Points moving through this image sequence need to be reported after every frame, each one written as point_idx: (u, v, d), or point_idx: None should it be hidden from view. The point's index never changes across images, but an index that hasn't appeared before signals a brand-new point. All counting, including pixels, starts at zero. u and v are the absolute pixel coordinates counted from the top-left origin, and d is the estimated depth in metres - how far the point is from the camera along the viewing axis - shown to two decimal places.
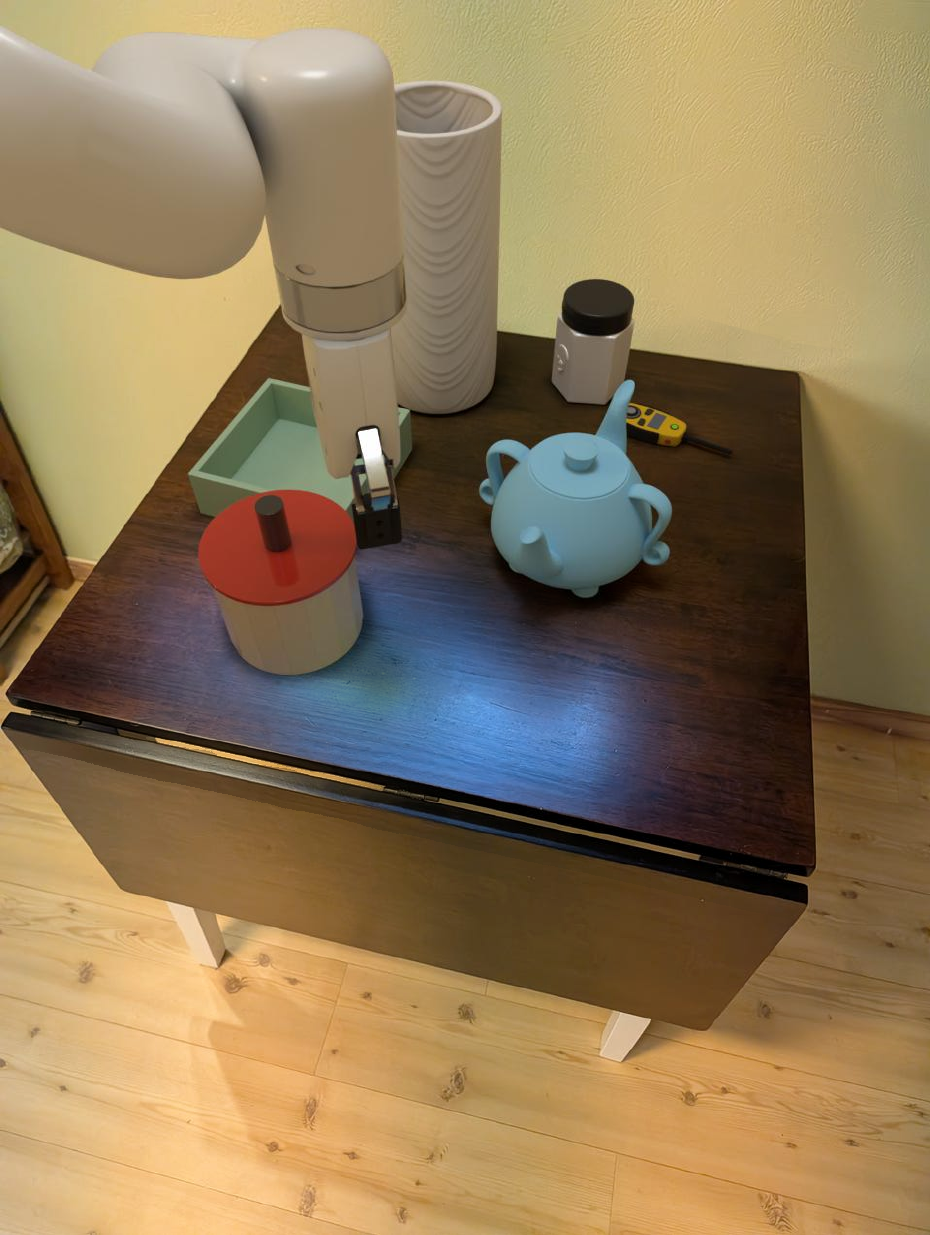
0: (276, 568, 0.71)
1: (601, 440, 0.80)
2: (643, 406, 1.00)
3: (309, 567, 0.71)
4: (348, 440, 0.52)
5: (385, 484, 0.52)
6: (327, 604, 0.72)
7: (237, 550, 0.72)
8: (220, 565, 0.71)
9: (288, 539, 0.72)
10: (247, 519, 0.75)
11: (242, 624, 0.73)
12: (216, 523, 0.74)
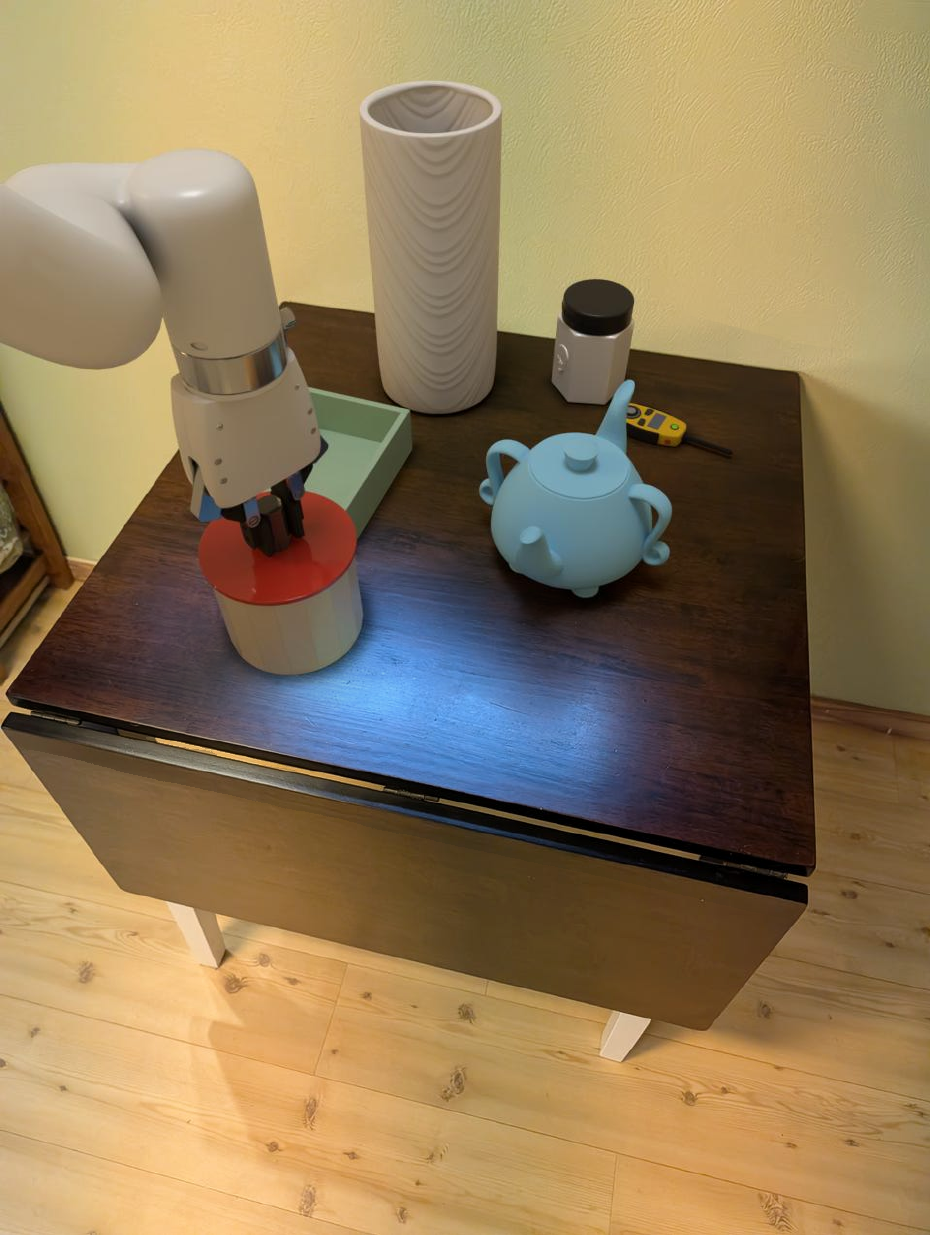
0: (276, 568, 0.71)
1: (601, 440, 0.80)
2: (643, 406, 1.00)
3: (309, 567, 0.71)
4: (185, 460, 0.62)
5: (196, 515, 0.64)
6: (327, 604, 0.72)
7: (237, 550, 0.72)
8: (220, 565, 0.71)
9: (287, 539, 0.72)
10: None
11: (242, 624, 0.73)
12: (216, 523, 0.74)
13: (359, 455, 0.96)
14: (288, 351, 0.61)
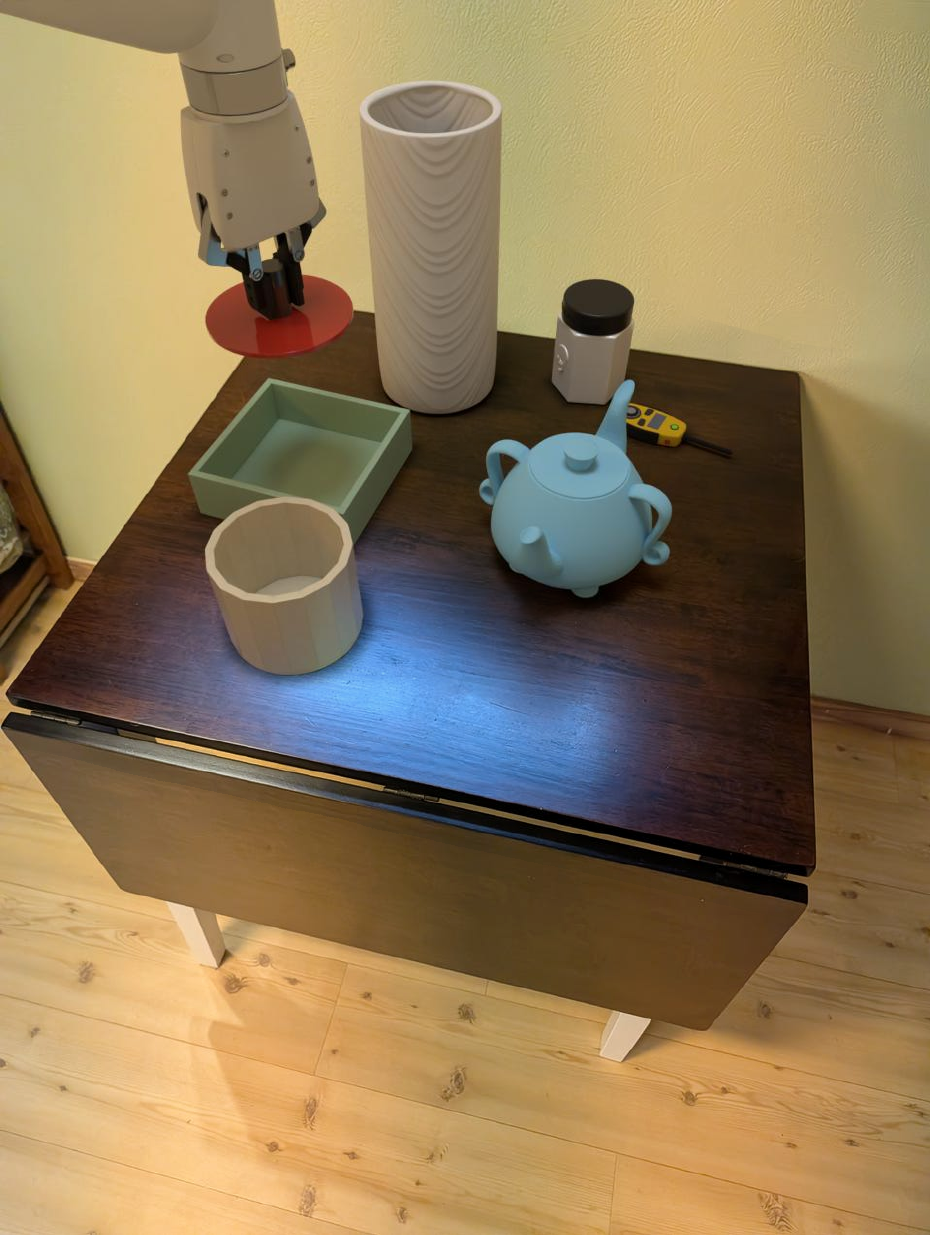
0: (278, 330, 0.76)
1: (601, 440, 0.80)
2: (643, 406, 1.00)
3: (308, 329, 0.76)
4: (194, 199, 0.68)
5: (204, 256, 0.69)
6: (327, 604, 0.72)
7: (241, 317, 0.78)
8: (225, 327, 0.76)
9: (288, 305, 0.77)
10: None
11: (242, 624, 0.73)
12: (222, 298, 0.80)
13: (359, 455, 0.96)
14: (289, 92, 0.66)
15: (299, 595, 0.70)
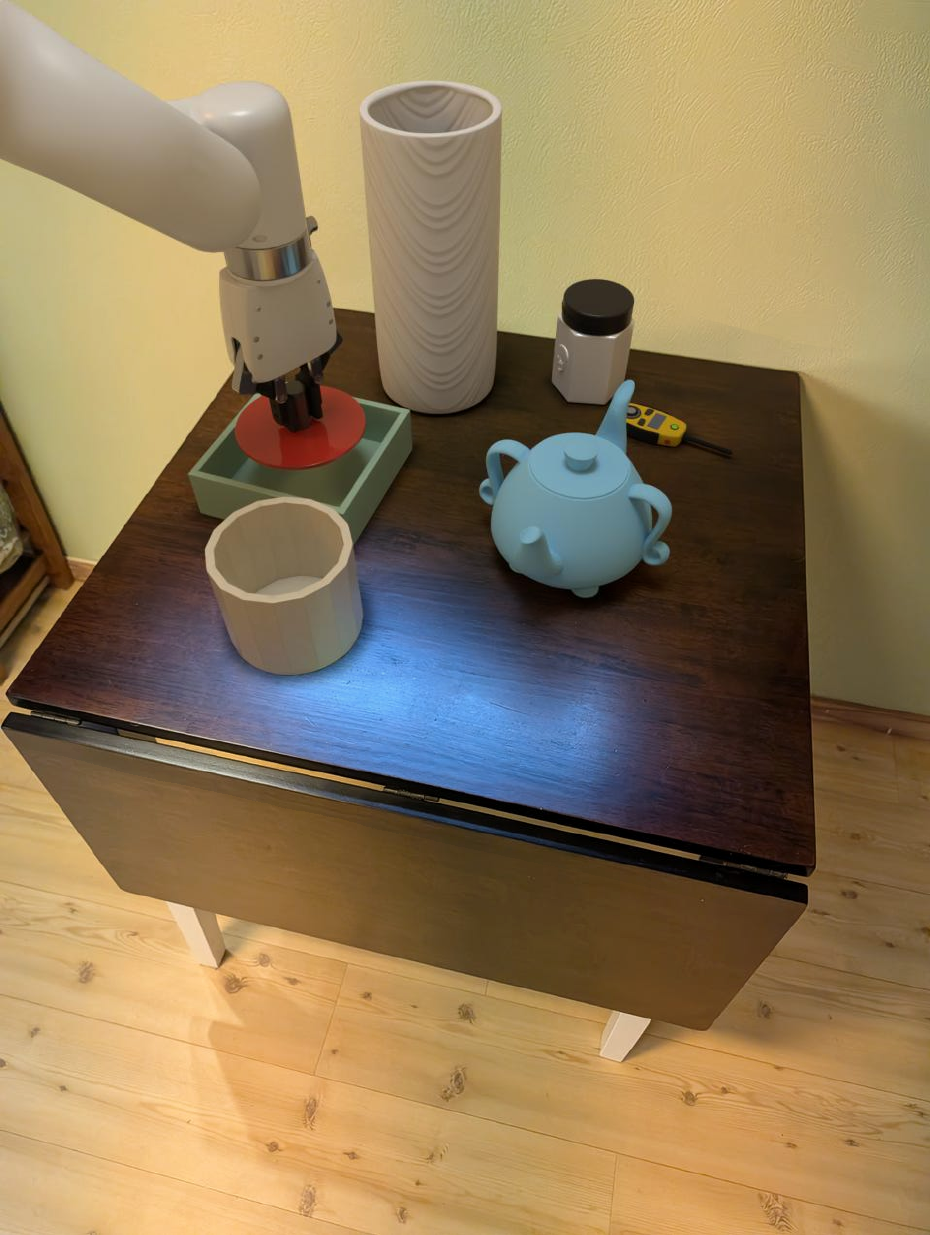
0: (299, 442, 0.86)
1: (601, 440, 0.80)
2: (643, 406, 1.00)
3: (326, 441, 0.86)
4: (229, 341, 0.78)
5: (237, 388, 0.79)
6: (327, 604, 0.72)
7: (267, 429, 0.88)
8: (253, 439, 0.87)
9: (309, 419, 0.87)
10: None
11: (242, 624, 0.73)
12: (249, 409, 0.90)
13: (359, 455, 0.96)
14: (311, 251, 0.76)
15: (299, 595, 0.70)
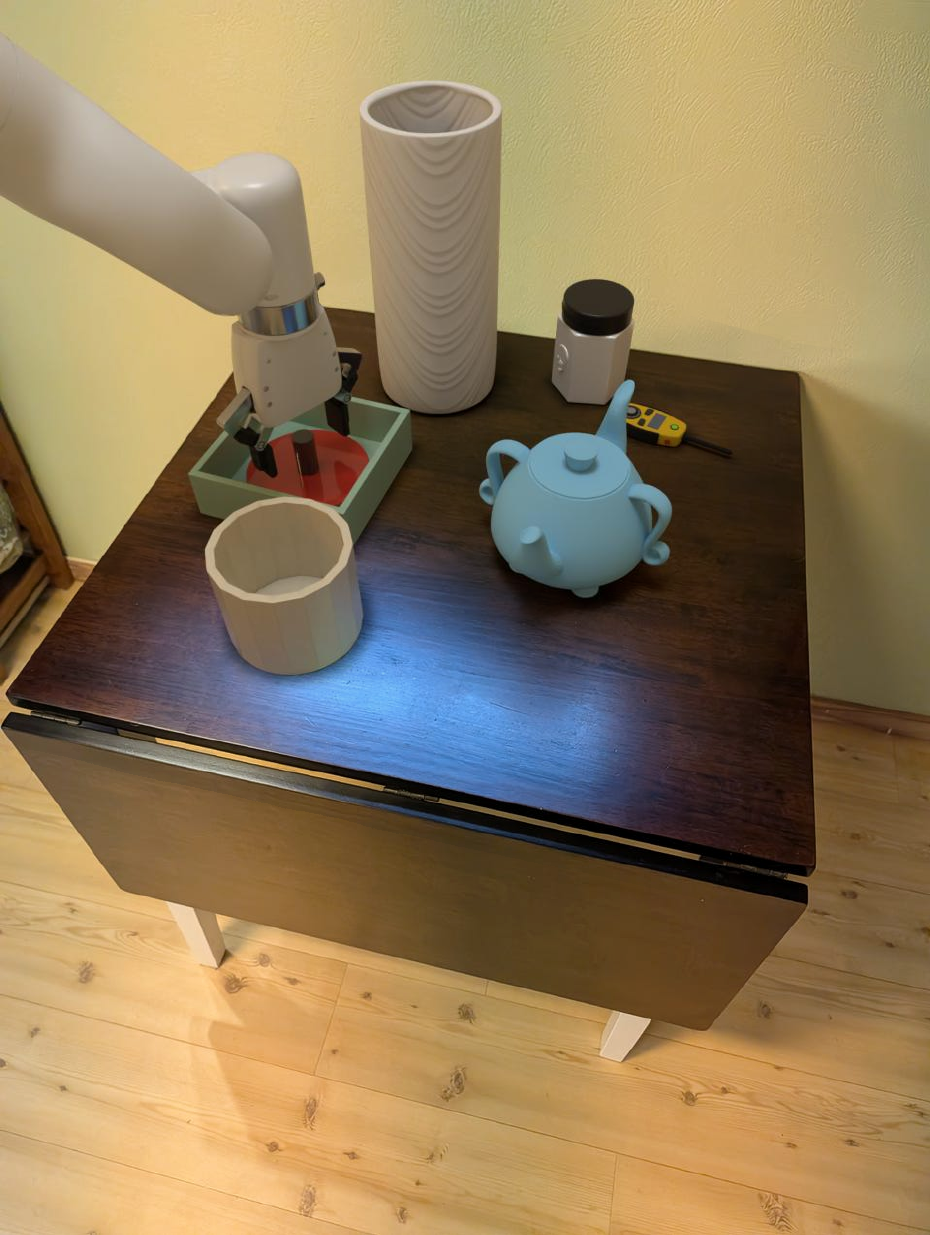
0: (307, 487, 0.91)
1: (601, 440, 0.80)
2: (643, 406, 1.00)
3: (333, 486, 0.91)
4: (239, 389, 0.82)
5: (224, 421, 0.80)
6: (327, 604, 0.72)
7: None
8: (263, 484, 0.91)
9: (316, 465, 0.92)
10: (283, 451, 0.95)
11: (242, 624, 0.73)
12: None
13: None
14: (319, 305, 0.80)
15: (299, 595, 0.70)
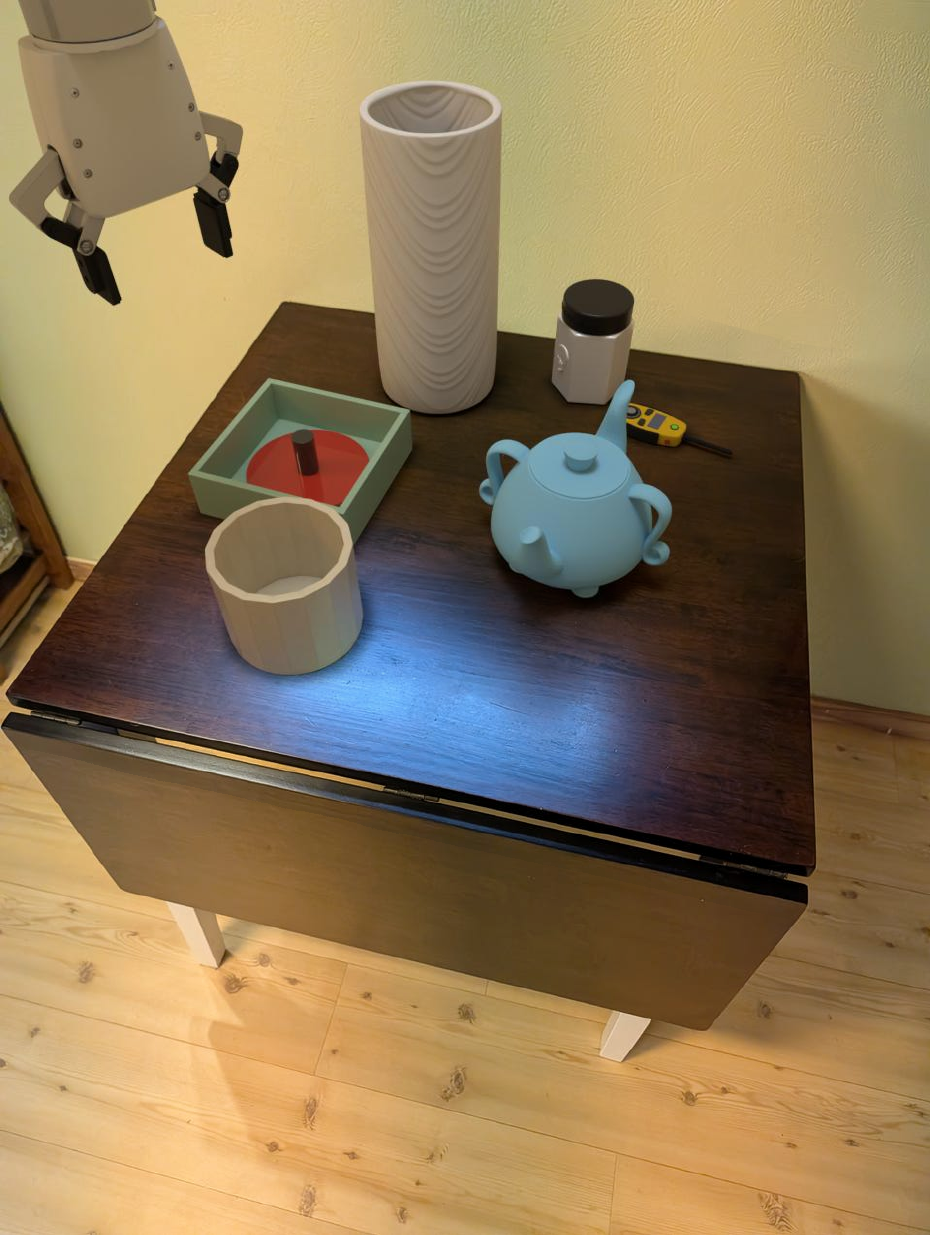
0: (307, 487, 0.91)
1: (601, 440, 0.80)
2: (643, 406, 1.00)
3: (333, 486, 0.91)
4: None
5: (18, 196, 0.54)
6: (327, 604, 0.72)
7: (276, 474, 0.92)
8: (263, 484, 0.91)
9: (316, 465, 0.92)
10: (283, 451, 0.95)
11: (242, 624, 0.73)
12: (259, 454, 0.94)
13: None
14: (159, 20, 0.53)
15: (299, 595, 0.70)
